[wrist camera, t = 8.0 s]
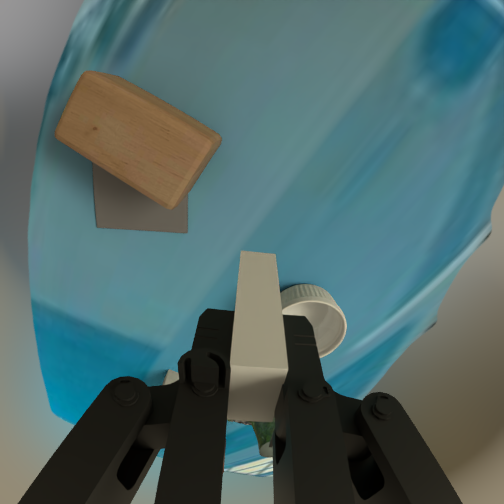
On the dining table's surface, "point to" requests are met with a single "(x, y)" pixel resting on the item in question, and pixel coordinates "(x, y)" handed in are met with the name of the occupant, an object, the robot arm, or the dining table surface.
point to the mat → (133, 207)
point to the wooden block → (136, 137)
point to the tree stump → (262, 435)
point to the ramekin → (316, 314)
